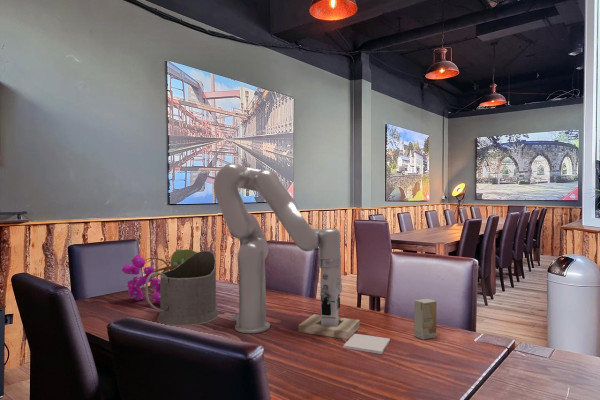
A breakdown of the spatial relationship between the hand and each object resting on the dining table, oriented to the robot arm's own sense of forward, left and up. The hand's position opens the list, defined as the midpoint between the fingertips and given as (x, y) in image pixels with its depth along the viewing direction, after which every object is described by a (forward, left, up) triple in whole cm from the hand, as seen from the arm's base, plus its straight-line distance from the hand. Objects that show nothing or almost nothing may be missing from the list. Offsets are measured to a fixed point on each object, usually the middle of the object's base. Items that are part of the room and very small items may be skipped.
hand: (331, 311), depth 141 cm
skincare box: (+32, +6, -7) cm, 33 cm away
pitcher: (-58, -13, -7) cm, 59 cm away
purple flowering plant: (-86, +10, -7) cm, 87 cm away
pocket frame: (0, 0, -6) cm, 6 cm away
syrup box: (0, 0, -7) cm, 7 cm away
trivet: (+16, -9, -6) cm, 19 cm away
